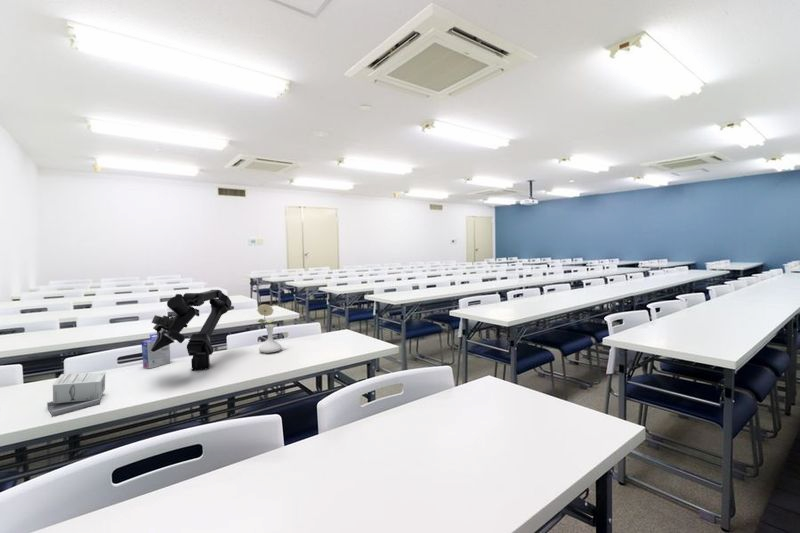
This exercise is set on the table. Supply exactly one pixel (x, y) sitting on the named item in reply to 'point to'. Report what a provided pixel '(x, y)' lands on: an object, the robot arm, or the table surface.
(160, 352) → the ink cartridge box
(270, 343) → the flower in vase
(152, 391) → the table surface
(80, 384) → the supplement box
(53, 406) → the tray
